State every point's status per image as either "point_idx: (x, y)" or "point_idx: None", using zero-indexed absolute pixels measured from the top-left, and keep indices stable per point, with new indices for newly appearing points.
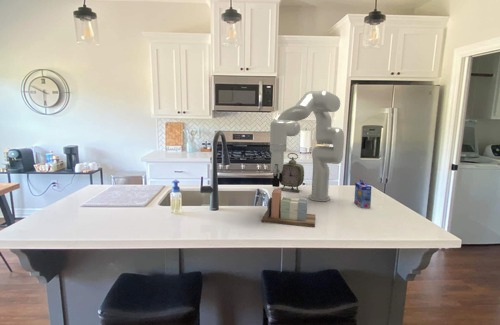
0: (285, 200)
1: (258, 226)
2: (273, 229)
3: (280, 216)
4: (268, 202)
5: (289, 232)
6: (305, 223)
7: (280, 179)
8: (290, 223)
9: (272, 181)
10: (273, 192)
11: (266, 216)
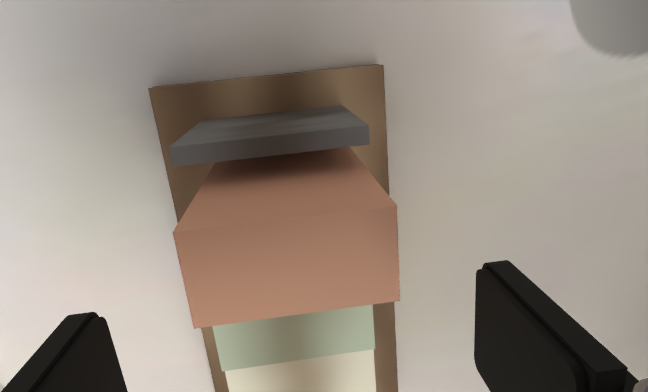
0: (237, 331)
1: (51, 90)
2: (57, 208)
3: None
4: (171, 158)
5: (66, 310)
6: (213, 379)
7: (493, 376)
8: None
9: (12, 382)
10: (182, 252)
11: (222, 109)
